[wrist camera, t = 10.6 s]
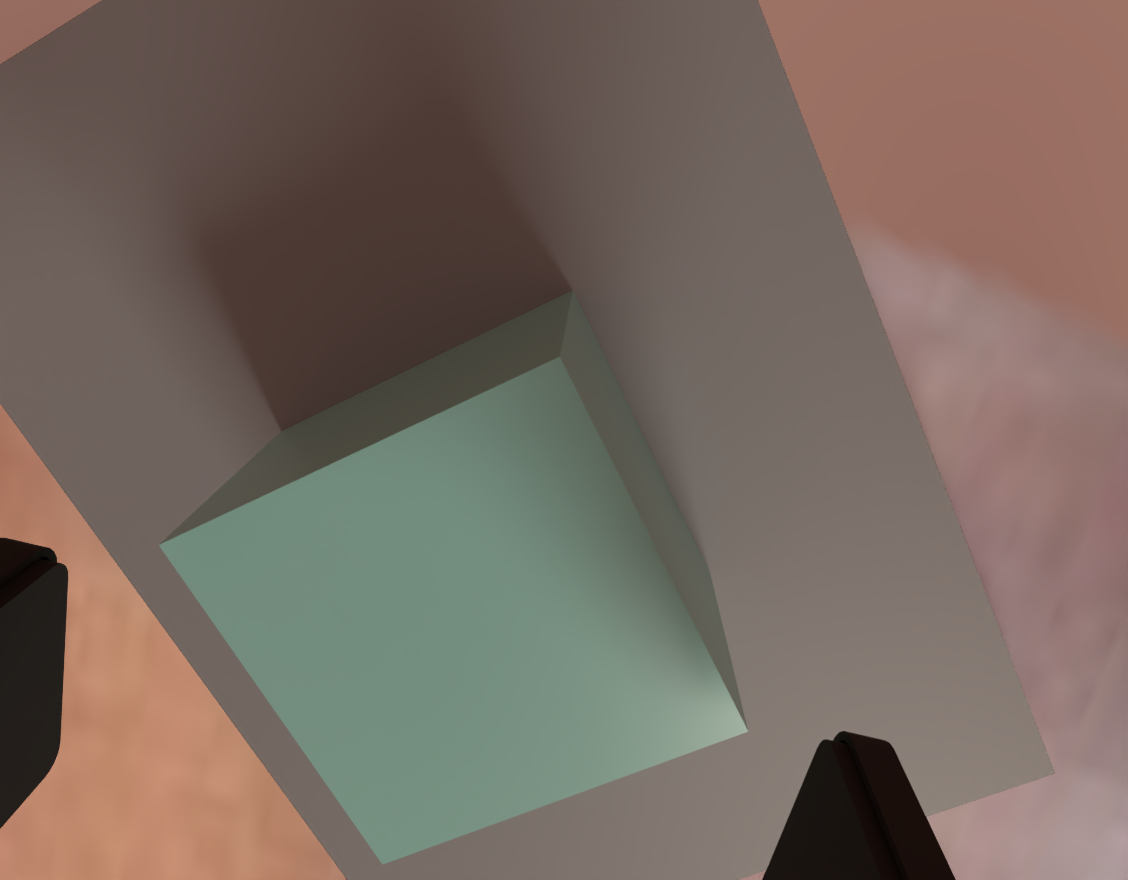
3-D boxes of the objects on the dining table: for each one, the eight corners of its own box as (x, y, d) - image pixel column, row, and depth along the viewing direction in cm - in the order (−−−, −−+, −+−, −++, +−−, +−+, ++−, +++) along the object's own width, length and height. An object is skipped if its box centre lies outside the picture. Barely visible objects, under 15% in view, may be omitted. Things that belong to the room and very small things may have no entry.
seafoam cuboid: (709, 572, 18) (748, 731, 13) (437, 682, 19) (382, 864, 14) (573, 290, 16) (560, 356, 11) (281, 431, 17) (157, 545, 12)
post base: (1014, 715, 21) (1149, 907, 16) (438, 917, 24) (391, 1135, 19) (626, -273, 15) (638, -493, 10) (-87, 166, 18) (-373, 180, 12)
